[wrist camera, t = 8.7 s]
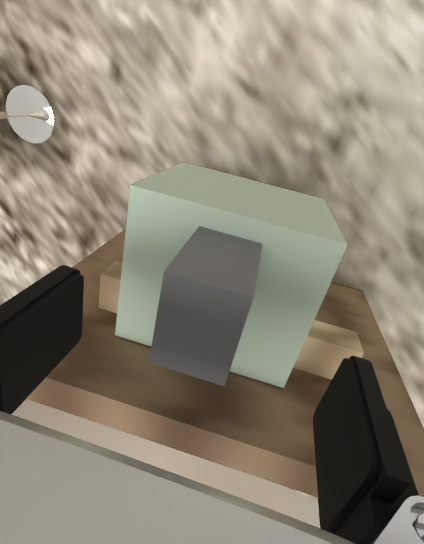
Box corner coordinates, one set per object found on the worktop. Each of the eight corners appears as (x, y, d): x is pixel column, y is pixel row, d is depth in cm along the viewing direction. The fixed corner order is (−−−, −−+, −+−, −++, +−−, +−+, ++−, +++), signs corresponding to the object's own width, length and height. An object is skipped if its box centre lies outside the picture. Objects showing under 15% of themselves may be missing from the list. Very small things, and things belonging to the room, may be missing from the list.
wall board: (374, 269, 30) (498, 482, 13) (331, 352, 35) (378, 590, 18) (133, 201, 32) (-49, 307, 15) (124, 290, 37) (-21, 448, 20)
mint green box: (324, 199, 22) (377, 302, 10) (283, 305, 26) (283, 476, 14) (183, 161, 23) (64, 213, 10) (165, 270, 27) (62, 402, 14)
